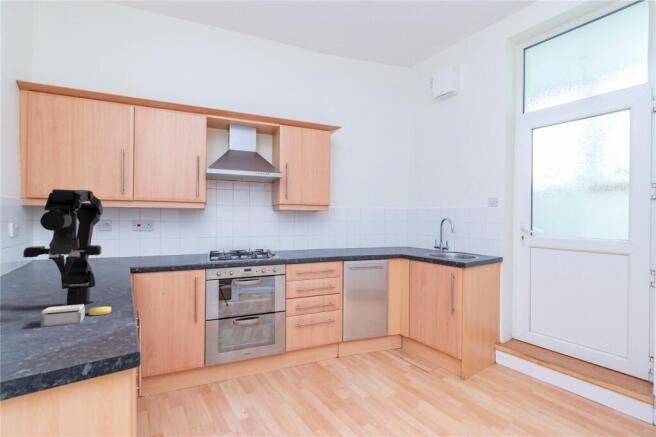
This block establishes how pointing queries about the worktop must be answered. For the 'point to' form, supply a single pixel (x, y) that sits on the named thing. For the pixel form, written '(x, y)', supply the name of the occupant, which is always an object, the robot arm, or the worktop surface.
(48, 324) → the grey frame
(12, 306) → the worktop surface
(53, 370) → the worktop surface
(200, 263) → the worktop surface
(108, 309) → the yellow rounded disc
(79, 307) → the lid
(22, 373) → the worktop surface
